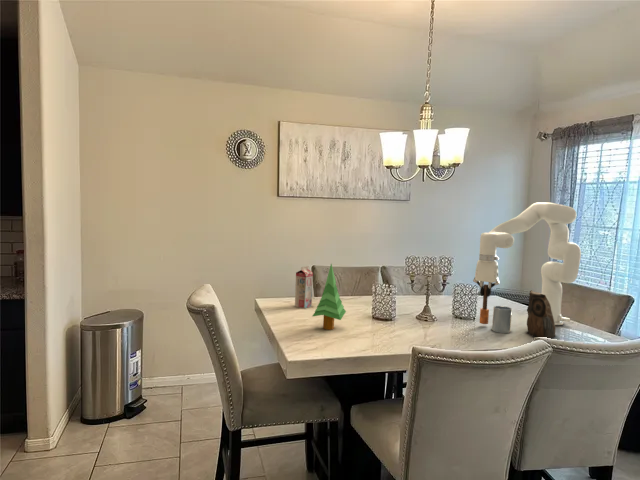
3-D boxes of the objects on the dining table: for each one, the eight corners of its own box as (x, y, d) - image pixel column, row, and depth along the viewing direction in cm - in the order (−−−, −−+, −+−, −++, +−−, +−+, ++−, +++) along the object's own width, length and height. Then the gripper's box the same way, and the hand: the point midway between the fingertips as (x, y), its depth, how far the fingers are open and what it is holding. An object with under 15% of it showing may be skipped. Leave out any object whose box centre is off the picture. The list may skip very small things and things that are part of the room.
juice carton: (311, 306, 249) (313, 266, 247) (304, 308, 243) (306, 267, 242) (301, 304, 252) (303, 265, 251) (294, 306, 247) (296, 266, 245)
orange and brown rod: (489, 322, 221) (491, 284, 219) (487, 324, 218) (489, 285, 216) (480, 321, 223) (482, 283, 222) (478, 323, 220) (480, 284, 218)
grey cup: (511, 330, 215) (513, 307, 214) (508, 334, 208) (509, 310, 207) (494, 327, 219) (495, 305, 218) (490, 330, 213) (491, 307, 212)
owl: (546, 340, 199) (549, 296, 198) (517, 334, 208) (520, 291, 207) (556, 336, 208) (560, 293, 207) (528, 329, 217) (531, 288, 216)
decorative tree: (348, 332, 200) (351, 265, 198) (313, 332, 197) (316, 264, 195) (342, 324, 213) (345, 261, 211) (309, 324, 211) (311, 260, 208)
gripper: (506, 259, 217) (504, 297, 218) (472, 256, 225) (471, 292, 227) (503, 260, 210) (500, 299, 212) (468, 257, 219) (466, 294, 221)
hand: (485, 295), depth 219 cm, fingers closed on orange and brown rod, 2 cm apart
